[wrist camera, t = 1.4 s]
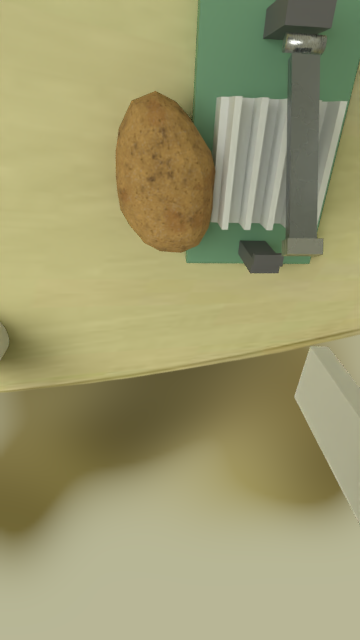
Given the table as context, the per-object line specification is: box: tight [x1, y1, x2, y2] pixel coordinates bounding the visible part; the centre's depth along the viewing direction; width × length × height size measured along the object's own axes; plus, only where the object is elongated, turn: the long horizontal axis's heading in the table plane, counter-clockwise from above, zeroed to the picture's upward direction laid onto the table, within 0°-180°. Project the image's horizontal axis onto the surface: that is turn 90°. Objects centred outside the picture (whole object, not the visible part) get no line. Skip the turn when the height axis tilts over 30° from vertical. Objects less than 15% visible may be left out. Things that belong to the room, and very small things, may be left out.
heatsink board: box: [186, 0, 360, 273], centre depth 33 cm, size 24×15×8 cm, turn 178°
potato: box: [116, 91, 216, 252], centre depth 33 cm, size 10×14×8 cm
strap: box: [282, 33, 327, 256], centre depth 27 cm, size 17×3×1 cm, turn 178°
